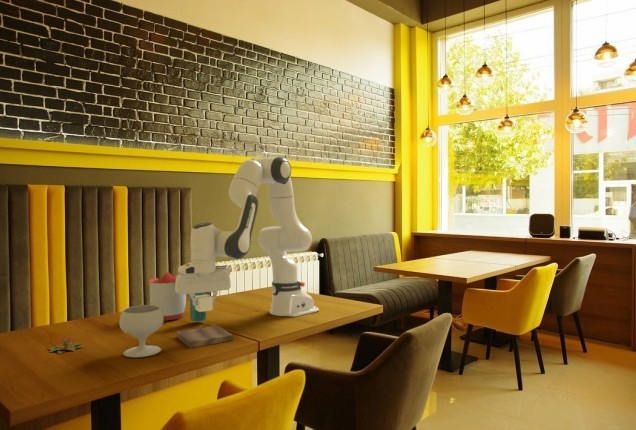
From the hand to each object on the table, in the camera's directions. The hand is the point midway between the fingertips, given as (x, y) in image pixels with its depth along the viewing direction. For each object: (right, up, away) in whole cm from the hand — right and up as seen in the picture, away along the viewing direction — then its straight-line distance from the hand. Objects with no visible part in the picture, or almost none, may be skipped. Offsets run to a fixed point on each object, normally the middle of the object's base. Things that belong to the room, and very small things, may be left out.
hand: (203, 304), depth 178 cm
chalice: (-17, -14, -15) cm, 27 cm away
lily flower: (-46, -14, -10) cm, 49 cm away
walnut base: (0, -13, +1) cm, 13 cm away
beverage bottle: (-8, -12, +23) cm, 27 cm away
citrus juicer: (-24, -12, +33) cm, 42 cm away
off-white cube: (0, -2, 0) cm, 2 cm away
